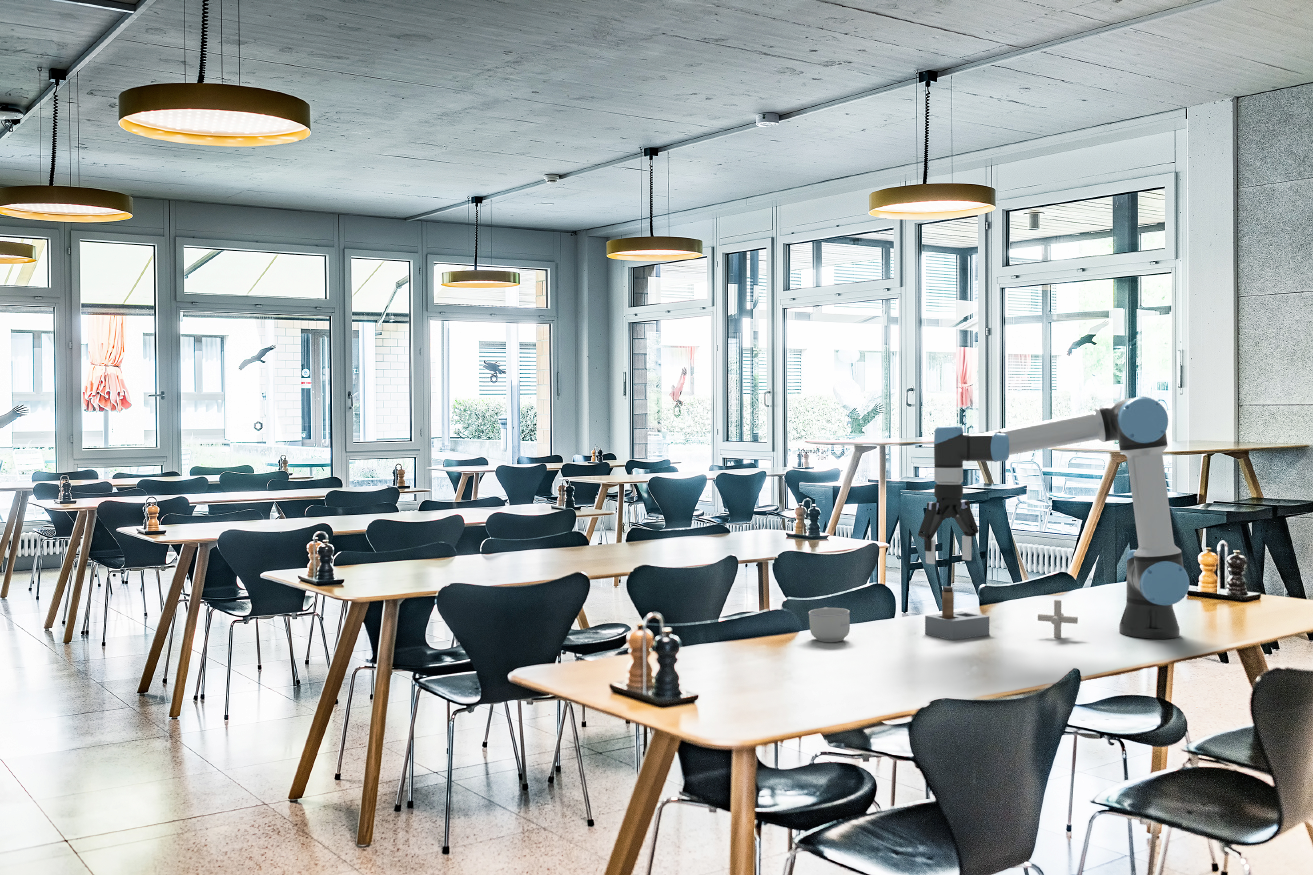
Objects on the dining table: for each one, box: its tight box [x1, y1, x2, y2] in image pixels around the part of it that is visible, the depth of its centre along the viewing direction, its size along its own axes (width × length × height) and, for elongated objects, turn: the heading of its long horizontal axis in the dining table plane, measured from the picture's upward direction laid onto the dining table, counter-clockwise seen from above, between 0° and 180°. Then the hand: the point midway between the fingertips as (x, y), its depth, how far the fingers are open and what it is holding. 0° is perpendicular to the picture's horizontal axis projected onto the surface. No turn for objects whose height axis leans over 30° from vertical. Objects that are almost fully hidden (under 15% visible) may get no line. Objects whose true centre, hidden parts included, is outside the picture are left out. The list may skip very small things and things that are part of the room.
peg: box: [941, 586, 955, 619], centre depth 316 cm, size 3×3×13 cm
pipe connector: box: [1037, 599, 1079, 639], centre depth 314 cm, size 10×10×10 cm
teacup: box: [807, 606, 851, 643], centre depth 311 cm, size 14×11×8 cm
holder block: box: [924, 611, 990, 641], centre depth 318 cm, size 10×14×5 cm
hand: (948, 561), depth 316 cm, fingers open, 13 cm apart
